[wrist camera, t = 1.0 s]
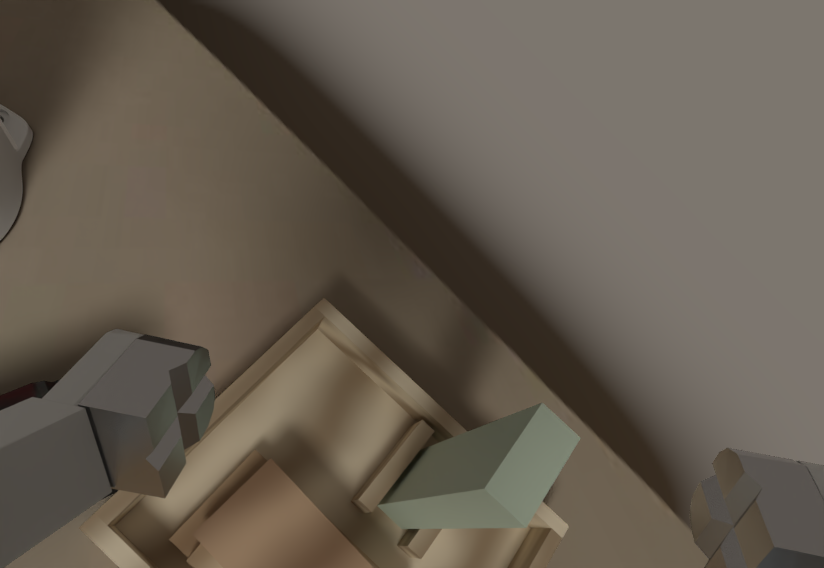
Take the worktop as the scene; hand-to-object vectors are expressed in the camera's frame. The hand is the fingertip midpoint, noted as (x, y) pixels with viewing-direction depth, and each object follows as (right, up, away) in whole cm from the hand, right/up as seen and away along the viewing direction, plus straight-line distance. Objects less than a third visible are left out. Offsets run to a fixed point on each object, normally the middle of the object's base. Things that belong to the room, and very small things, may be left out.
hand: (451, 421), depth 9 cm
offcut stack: (-8, -16, +28) cm, 33 cm away
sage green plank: (-1, -13, +32) cm, 34 cm away
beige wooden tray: (-6, -15, +31) cm, 35 cm away
